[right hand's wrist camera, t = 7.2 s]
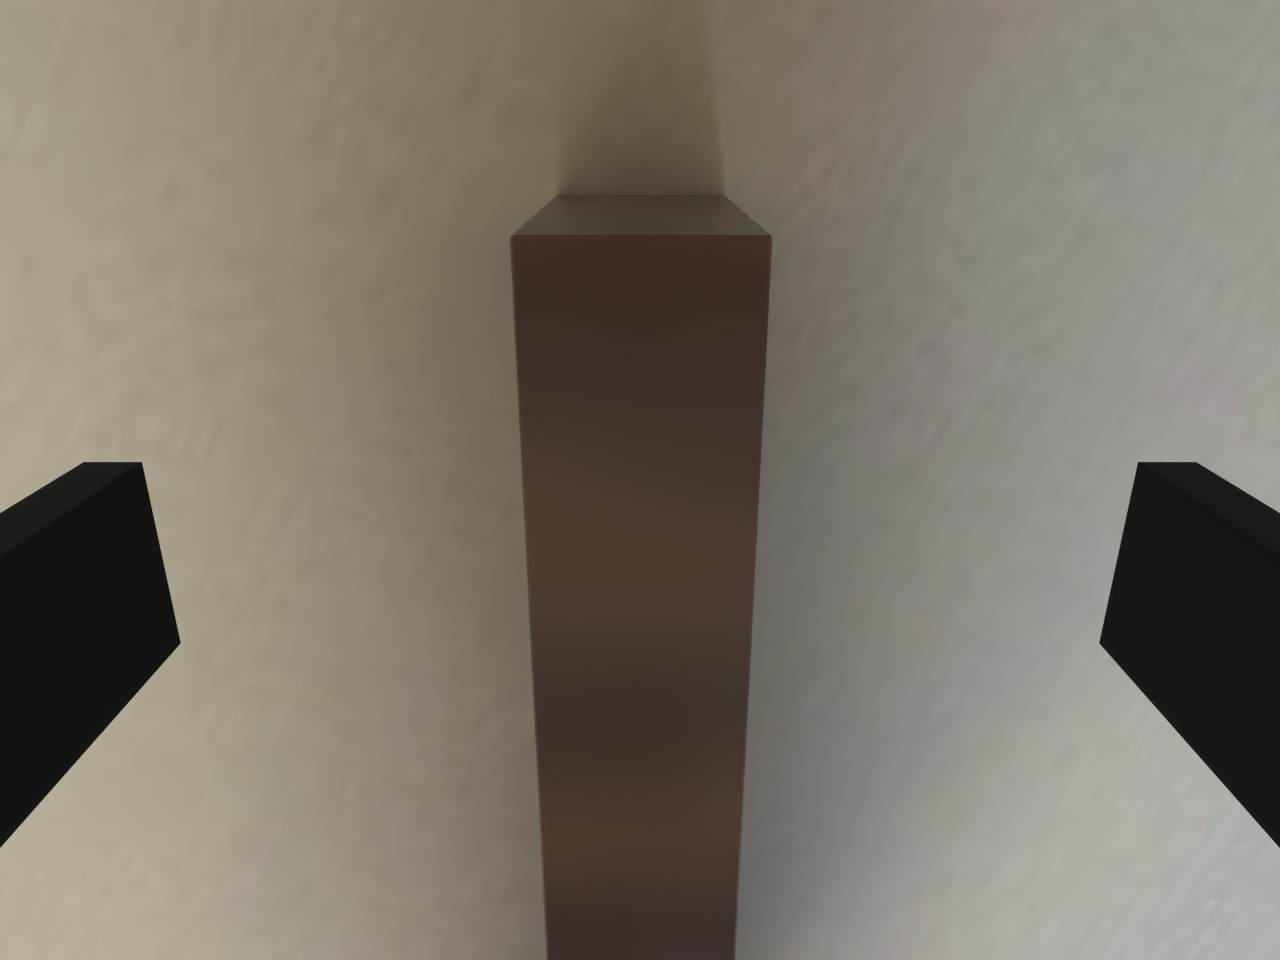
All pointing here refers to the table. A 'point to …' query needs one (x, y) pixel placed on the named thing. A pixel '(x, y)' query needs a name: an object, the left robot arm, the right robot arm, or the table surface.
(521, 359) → the plank
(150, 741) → the table surface
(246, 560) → the table surface
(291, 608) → the table surface
